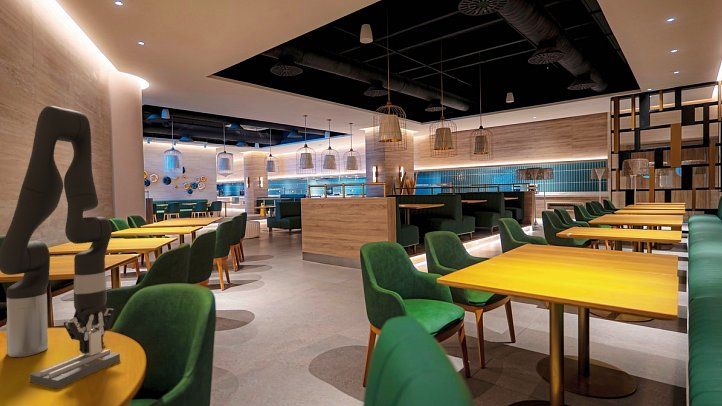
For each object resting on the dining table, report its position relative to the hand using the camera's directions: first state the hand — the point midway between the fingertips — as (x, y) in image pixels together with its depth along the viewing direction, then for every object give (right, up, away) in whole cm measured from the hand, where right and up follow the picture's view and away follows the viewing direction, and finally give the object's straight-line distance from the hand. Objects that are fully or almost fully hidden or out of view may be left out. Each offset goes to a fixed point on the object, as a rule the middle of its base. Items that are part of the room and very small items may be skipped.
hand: (91, 350), depth 110 cm
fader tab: (0, -2, 0) cm, 2 cm away
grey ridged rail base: (-1, -4, -4) cm, 6 cm away
